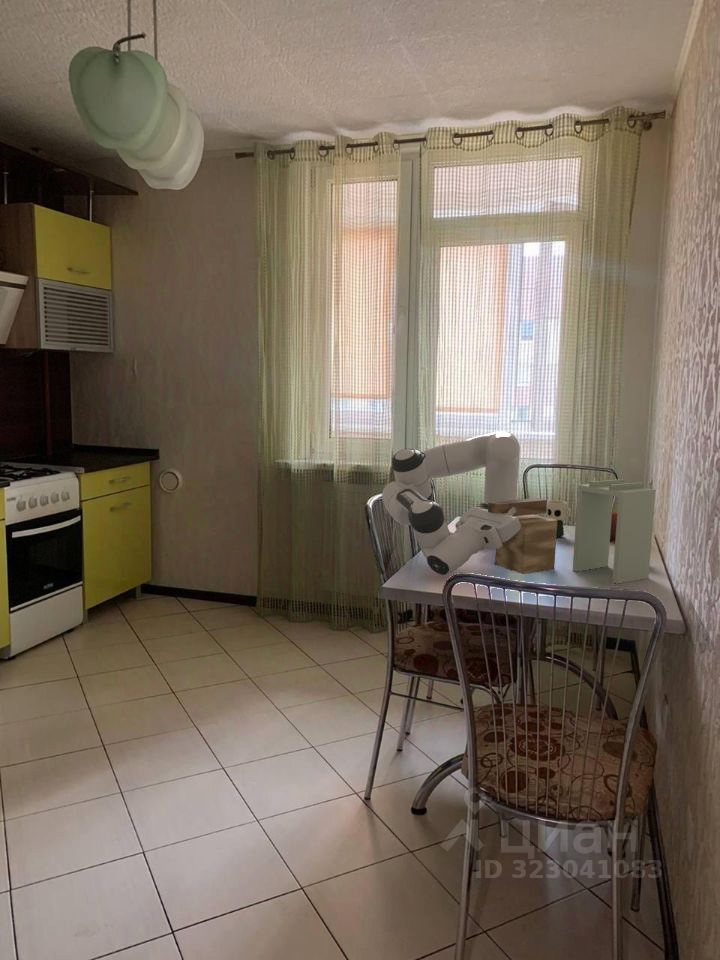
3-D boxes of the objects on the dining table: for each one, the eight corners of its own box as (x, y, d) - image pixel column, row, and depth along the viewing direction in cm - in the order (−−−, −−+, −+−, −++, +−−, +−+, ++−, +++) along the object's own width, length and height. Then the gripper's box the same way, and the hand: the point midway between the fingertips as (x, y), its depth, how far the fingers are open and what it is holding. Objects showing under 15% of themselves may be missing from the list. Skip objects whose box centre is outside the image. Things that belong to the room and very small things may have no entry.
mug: (593, 539, 262) (595, 511, 260) (597, 535, 269) (599, 508, 268) (628, 543, 256) (630, 515, 255) (631, 539, 264) (633, 511, 263)
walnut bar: (487, 515, 211) (488, 502, 211) (536, 510, 222) (537, 498, 221) (496, 518, 208) (497, 504, 208) (546, 513, 219) (547, 500, 218)
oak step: (494, 564, 221) (497, 516, 219) (525, 560, 228) (528, 513, 226) (522, 574, 211) (525, 523, 209) (554, 569, 218) (557, 520, 216)
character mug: (536, 535, 266) (538, 501, 264) (544, 533, 271) (546, 499, 270) (565, 540, 259) (567, 504, 258) (572, 537, 265) (575, 502, 263)
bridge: (572, 570, 216) (578, 479, 212) (603, 565, 223) (610, 477, 220) (616, 583, 203) (623, 487, 199) (648, 577, 210) (656, 484, 206)
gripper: (455, 535, 217) (487, 510, 222) (503, 550, 200) (535, 522, 205) (448, 518, 215) (480, 493, 220) (495, 531, 197) (528, 503, 203)
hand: (507, 507), depth 212 cm, fingers closed on walnut bar, 4 cm apart
